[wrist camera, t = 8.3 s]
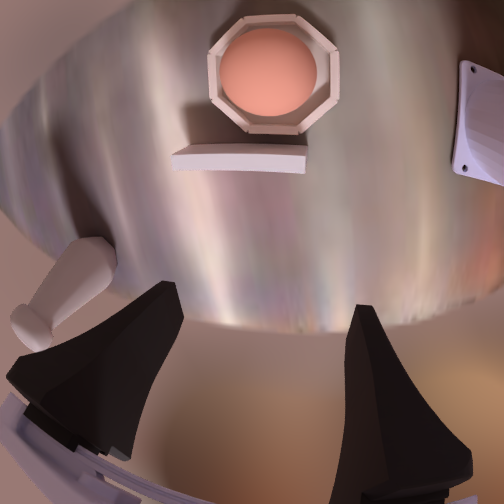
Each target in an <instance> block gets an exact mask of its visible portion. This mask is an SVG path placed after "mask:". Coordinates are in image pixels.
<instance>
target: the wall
mask: <svg viewBox="0 0 504 504" xmlns="http://www.w3.org/2000/svg"><path fill="white" fill-rule="evenodd" d="M307 157H308V146H306V145H287V144H250V143H232V144H195V145H189V146H187V147H185V148H183V149H182V150H180V151H178V152H176V153H174V154H172V155H171V162H172V170H173V171H177V170H239V171H268V172H288V173H303V174H305V171H306V166H307Z"/></svg>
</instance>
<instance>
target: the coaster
mask: <svg viewBox="0 0 504 504" xmlns="http://www.w3.org/2000/svg"><path fill="white" fill-rule="evenodd" d="M264 28H271V29H278V30H282V31H285V32H288V33H290V34H292V35H294V36H296V37H297V38H299V39H300V40H301V41H302V42H303V43H304V44H305V45H306V46H307V47H308V48H309V50H310V51H311V53H312V55H313V57H314V59H315V62H316V67H317V80H316V85H315V87H314V90H313V92H312V94H311V95H310V97H309V98H308V99H307V100H306V101H305V102H304V103H303V104H302V105H301V106H300V107H298V108H297V109H295V110H293V111H291V112H289V113H286V114H283V115H278V116H260V115H255V114H252V113H249V112H247V111H245V110H243V109H241V108H240V107H238V106H237V105H236V104H234V103H233V102H232V101H231V100H230V98H229V97H228V96H227V95H226V93H225V91H224V89H223V87H222V85H221V81H220V75H219V68H220V62H221V59H222V56H223V54H224V52H225V50H226V49H227V47H228V46H229V45H230V44H231V43H232V42H233V41H234V40H235V39H236V38H238V37H239V36H241V35H243V34H245V33H247V32H249V31H252V30H256V29H264ZM337 49H338V48H336V47H335V46H334V45H333V44H332V43H331V42H330V41H329V40H328V39H327V38H326V37H324V36H323V35H322V34H321V33H320V32H319V31H317V30H316V29H315V28H314V27H313V26H312V25H310V24H309V23H308V22H307V21H305V20H304V19H303V18H302V17H300V16H297V17H296V14H275V15H256V16H244V19H242V18H240V19H239V20H238V21H237V22H236V23H235V24H234V25H233V26H232V27H231V28H230V29H229V30H228V31H227V32H226V33H225V34H224V35H223V36H222V37H221V39H220V40H219V41H218V42H217V43H216V44H215V45H214V46H213V47H212V48H211V49H210V50H209V53H211V54H207V58H208V78H209V95H210V99H213V98H214V99H213V100H212V101H211V102H212V103H213V104H215V105H216V106H217V107H218V108H219V109H220V110H221V111H223V112H224V113H225V114H226V115H227V116H228V117H229V118H230V119H232V120H233V121H234V122H235V123H236V124H237V125H238V126H239V127H240V128H241V129H242V130H244V131H245V132H247V131H249V134H288V135H298V134H299V132H300V133H301V134H302V133H303V132H304V131H305V130H306V129H307V128H308V127H310V126H311V125H312V124H313V123H314V122H315V121H316V120H318V119H319V118H320V117H321V116H322V115H323V114H325V113H326V112H327V111H328V110H329V109H330V108H332V107H333V106H334V105H335V104H336V103H338V102H337V101H336V100H335V99H339V51H337Z"/></svg>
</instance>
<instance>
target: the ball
mask: <svg viewBox="0 0 504 504" xmlns="http://www.w3.org/2000/svg"><path fill="white" fill-rule="evenodd" d="M219 75H220V81H221V85H222V87H223V89H224V91H225V93H226V95H227V96H228V97H229V98H230V100H231V101H232V102H233V103H234V104H236V105H237V106H238V107H240V108H241V109H243V110H245V111H247V112H249V113H252V114H255V115H260V116H278V115H283V114H286V113H289V112H291V111H293V110H295V109H297V108H298V107H300V106H301V105H302V104H303V103H304V102H305V101H306V100H307V99H308V98H309V97H310V95H311V94H312V92H313V90H314V87H315V85H316V80H317V67H316V62H315V59H314V57H313V55H312V53H311V51H310V50H309V48H308V47H307V46H306V45H305V44H304V43H303V42H302V41H301V40H300V39H299V38H297V37H296V36H294V35H292V34H290V33H288V32H285V31H282V30H278V29H271V28H264V29H256V30H252V31H249V32H247V33H245V34H243V35H241V36H239V37H238V38H236V39H235V40H234V41H233V42H232V43H231V44H230V45H229V46H228V47H227V49H226V50H225V52H224V54H223V56H222V59H221V62H220V68H219Z"/></svg>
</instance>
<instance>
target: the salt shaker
mask: <svg viewBox="0 0 504 504" xmlns="http://www.w3.org/2000/svg"><path fill="white" fill-rule="evenodd" d="M116 266H117V259H116V254H115V249H114V248H113V247H112V246H111V245H110V244H109V243H108V242H107V241H106V240H105V239H104V238H103V237H87V238H80V239H77V240H75V241H73V242H71V243H70V245H69V246H68V247H67V249H66V250H65V251H64V253H63V254H62V255H61V257H60V258H59V259H58V261H57V262H56V263H55V265H54V266H53V268H52V269H51V271H50V272H49V273H48V275H47V276H46V278H45V279H44V281H43V282H42V284H41V285H40V287H39V288H38V290H37V291H36V293H35V295H34V296H33V298H32V299H31V301H30V303H29V304H28V305H26V304H21V305H19V306H18V307H16V308H15V310H14V311H13V312H12V314H11V316H10V318H11V326H12V328H13V330H14V332H15V333H16V335H17V336H18V338H19V339H20V340H21V341H22V342H23V343H24V344H25V345H26V346H27V347H28V348H30V349H31V350H33V351H34V352H39V351H43V350H46V349H47V348H48V347H49V345H50V344H51V342H52V340H53V335H52V332H51V331H52V330H53V329H54V328H55V327H56V326H58V325H59V324H60V323H61V322H62V321H64V320H65V319H66V318H67V317H68V316H70V315H71V314H72V313H74V312H75V311H76V310H78V309H79V308H80V307H82V306H83V305H84V304H85V303H87V302H88V301H89V300H91V299H92V298H93V297H95V296H96V295H97V294H99V293H100V292H101V291H103V290H104V289H105V288H107V286H108V285H109V284H110V282H111V281H112V279H113V277H114V273H115V270H116Z"/></svg>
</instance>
